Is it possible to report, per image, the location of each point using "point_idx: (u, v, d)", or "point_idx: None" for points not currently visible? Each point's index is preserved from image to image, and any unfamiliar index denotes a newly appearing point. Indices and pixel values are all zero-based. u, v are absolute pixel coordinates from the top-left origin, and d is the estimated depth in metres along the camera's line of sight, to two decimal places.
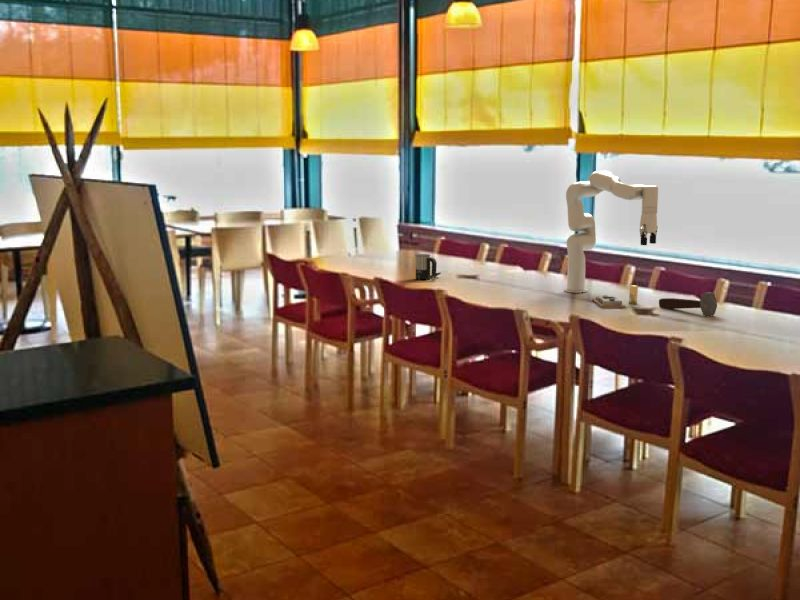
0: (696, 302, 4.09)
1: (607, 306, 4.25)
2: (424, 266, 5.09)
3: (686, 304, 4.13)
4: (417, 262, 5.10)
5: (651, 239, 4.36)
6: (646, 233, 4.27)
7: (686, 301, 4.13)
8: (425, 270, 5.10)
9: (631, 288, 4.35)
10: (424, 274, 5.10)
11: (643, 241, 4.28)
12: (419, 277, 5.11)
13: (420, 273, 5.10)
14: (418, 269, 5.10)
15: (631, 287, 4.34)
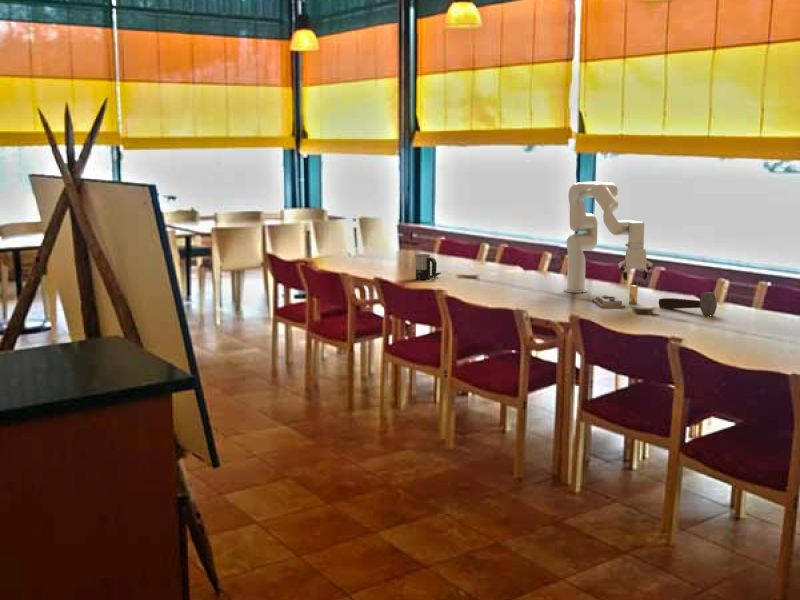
0: (696, 302, 4.09)
1: (607, 306, 4.25)
2: (424, 266, 5.09)
3: (686, 304, 4.13)
4: (417, 262, 5.10)
5: None
6: None
7: (686, 301, 4.13)
8: (425, 270, 5.10)
9: (631, 288, 4.35)
10: (424, 274, 5.10)
11: None
12: (419, 277, 5.11)
13: (420, 273, 5.10)
14: (418, 269, 5.10)
15: (631, 287, 4.34)
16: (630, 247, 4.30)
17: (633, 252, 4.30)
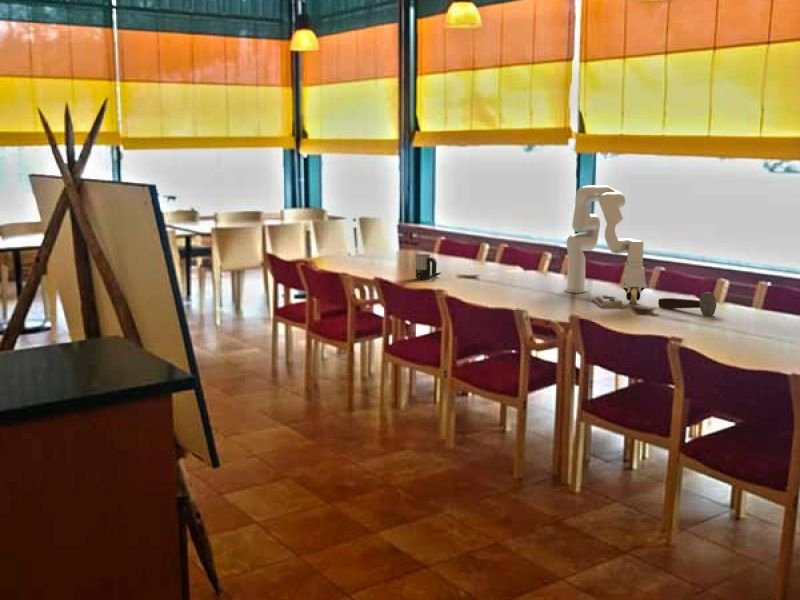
0: (695, 302, 4.09)
1: (607, 306, 4.25)
2: (424, 266, 5.09)
3: (686, 304, 4.14)
4: (417, 262, 5.10)
5: None
6: None
7: (685, 301, 4.14)
8: (425, 270, 5.10)
9: (631, 288, 4.35)
10: (424, 274, 5.10)
11: None
12: (419, 277, 5.11)
13: (420, 273, 5.10)
14: (418, 269, 5.10)
15: (631, 287, 4.34)
16: (629, 266, 4.32)
17: (632, 271, 4.31)
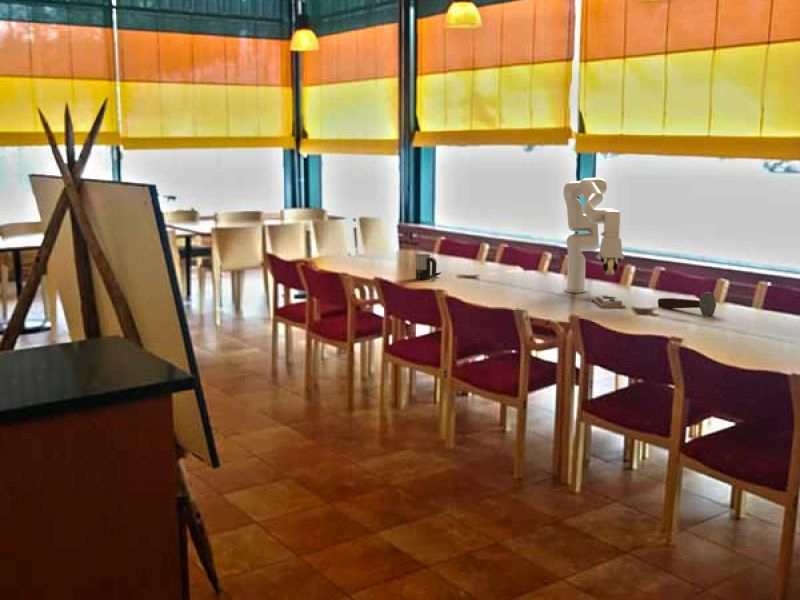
0: (695, 302, 4.10)
1: (607, 306, 4.25)
2: (424, 266, 5.09)
3: (686, 304, 4.14)
4: (417, 262, 5.10)
5: None
6: None
7: (685, 301, 4.14)
8: (425, 270, 5.10)
9: (608, 259, 4.30)
10: (424, 274, 5.10)
11: None
12: (419, 277, 5.11)
13: (420, 273, 5.10)
14: (418, 269, 5.11)
15: (608, 258, 4.30)
16: (605, 236, 4.27)
17: (609, 241, 4.27)
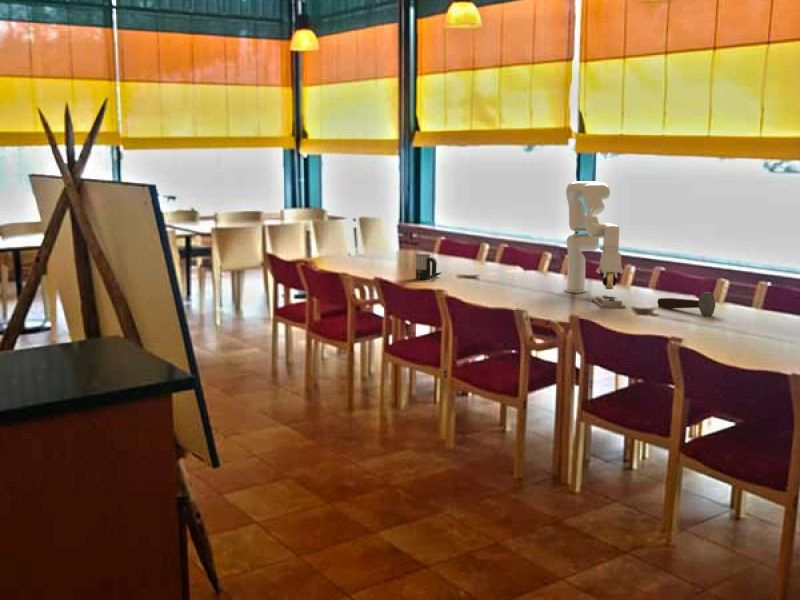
0: (694, 302, 4.10)
1: (607, 306, 4.25)
2: (424, 266, 5.10)
3: (685, 304, 4.14)
4: (417, 262, 5.11)
5: None
6: None
7: (685, 301, 4.14)
8: (425, 270, 5.10)
9: (607, 273, 4.31)
10: (424, 274, 5.10)
11: None
12: (419, 277, 5.11)
13: (420, 273, 5.11)
14: (418, 269, 5.11)
15: (607, 272, 4.31)
16: (605, 250, 4.28)
17: (608, 256, 4.28)
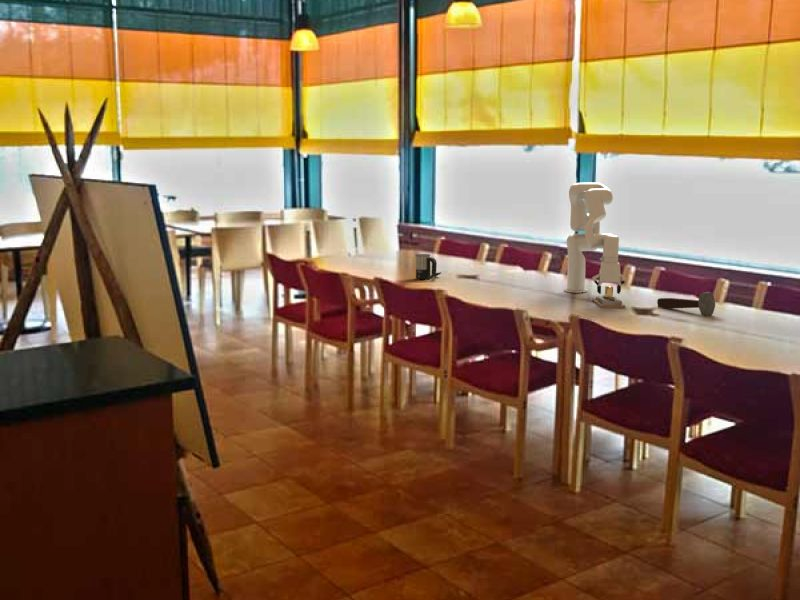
0: (694, 302, 4.10)
1: (607, 306, 4.25)
2: (424, 266, 5.10)
3: (685, 304, 4.14)
4: (417, 262, 5.11)
5: None
6: None
7: (684, 301, 4.14)
8: (425, 270, 5.10)
9: (606, 289, 4.33)
10: (424, 274, 5.11)
11: None
12: (419, 277, 5.11)
13: (420, 273, 5.11)
14: (418, 269, 5.11)
15: (606, 288, 4.33)
16: (604, 261, 4.29)
17: (607, 267, 4.29)
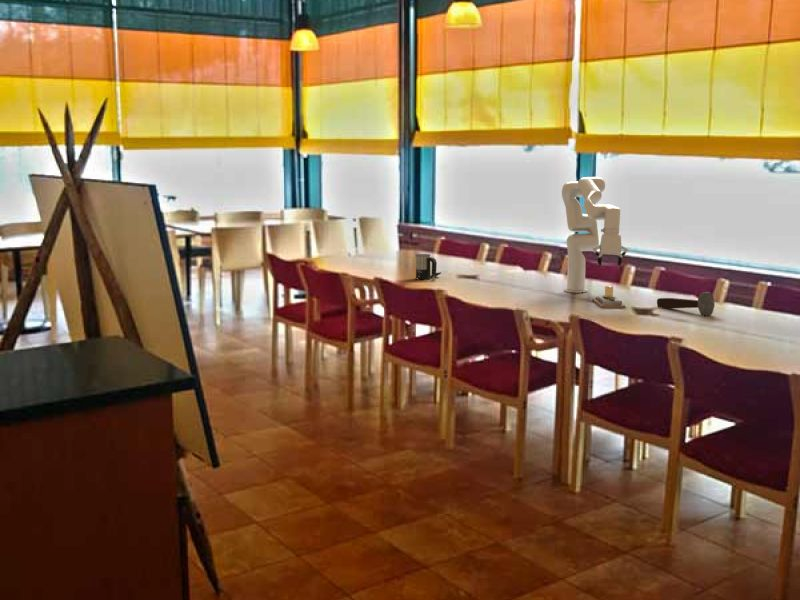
0: (694, 302, 4.10)
1: (607, 306, 4.25)
2: (424, 266, 5.10)
3: (684, 304, 4.14)
4: (417, 262, 5.11)
5: None
6: None
7: (684, 301, 4.14)
8: (425, 270, 5.11)
9: (606, 289, 4.33)
10: (424, 274, 5.11)
11: None
12: (419, 277, 5.12)
13: (420, 273, 5.11)
14: (418, 269, 5.11)
15: (606, 288, 4.32)
16: (605, 233, 4.29)
17: (608, 238, 4.28)
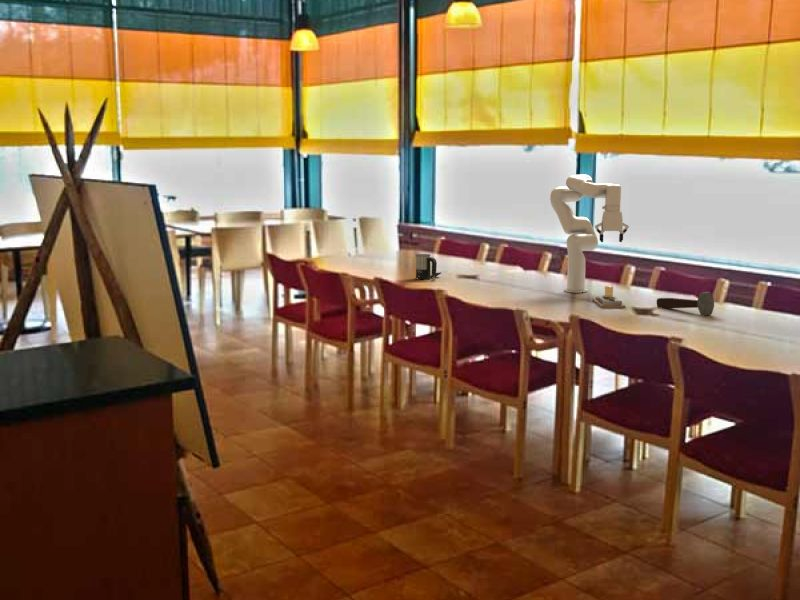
0: (693, 302, 4.10)
1: (607, 306, 4.25)
2: (424, 265, 5.10)
3: (684, 304, 4.14)
4: (417, 262, 5.11)
5: None
6: None
7: (683, 301, 4.14)
8: (425, 270, 5.11)
9: (606, 289, 4.33)
10: (424, 274, 5.11)
11: None
12: (419, 277, 5.12)
13: (420, 273, 5.11)
14: (418, 269, 5.11)
15: (606, 288, 4.33)
16: (607, 210, 4.37)
17: (610, 215, 4.36)
